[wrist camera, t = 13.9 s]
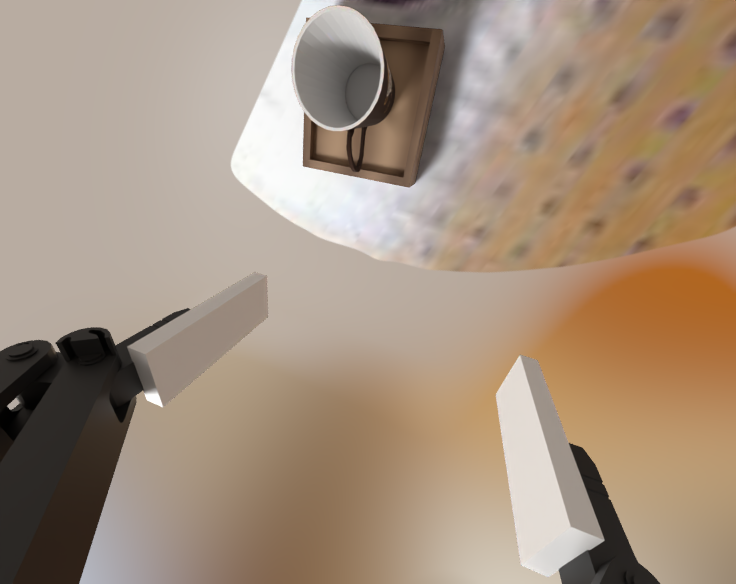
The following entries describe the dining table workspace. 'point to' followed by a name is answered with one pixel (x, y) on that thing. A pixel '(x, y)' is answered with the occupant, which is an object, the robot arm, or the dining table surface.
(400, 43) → the wooden tray
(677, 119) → the dining table surface
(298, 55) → the coffee mug
